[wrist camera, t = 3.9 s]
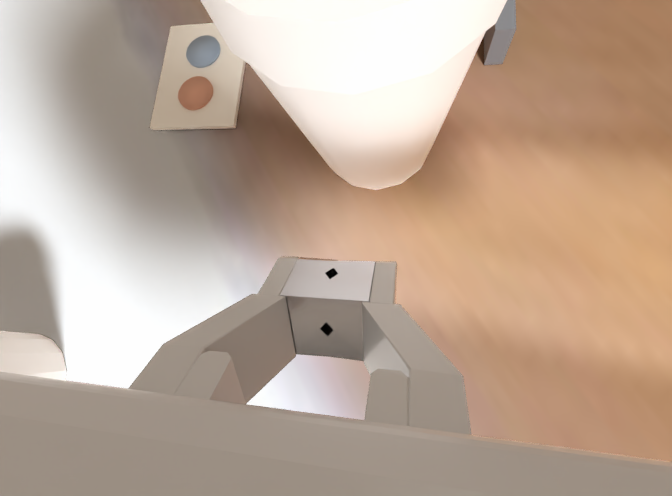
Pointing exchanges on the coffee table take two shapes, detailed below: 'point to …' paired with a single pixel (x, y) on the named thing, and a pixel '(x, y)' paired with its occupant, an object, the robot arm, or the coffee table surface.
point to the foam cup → (360, 72)
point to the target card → (198, 81)
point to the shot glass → (31, 355)
